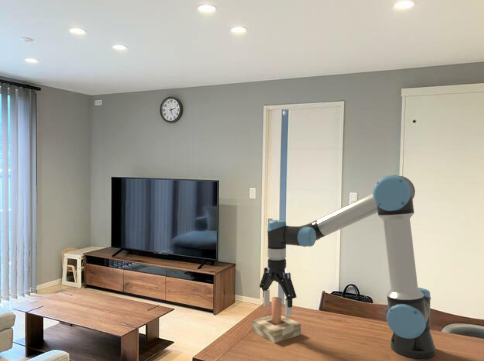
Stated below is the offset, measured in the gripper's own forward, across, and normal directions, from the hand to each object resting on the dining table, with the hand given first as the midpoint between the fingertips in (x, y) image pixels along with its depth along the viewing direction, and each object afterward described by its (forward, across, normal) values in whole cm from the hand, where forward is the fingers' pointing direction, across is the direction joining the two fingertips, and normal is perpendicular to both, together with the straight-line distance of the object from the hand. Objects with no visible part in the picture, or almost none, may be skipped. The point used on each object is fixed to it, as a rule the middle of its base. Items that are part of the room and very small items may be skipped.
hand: (277, 310), depth 155 cm
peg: (+9, 0, 0) cm, 9 cm away
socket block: (+9, 0, 0) cm, 9 cm away
